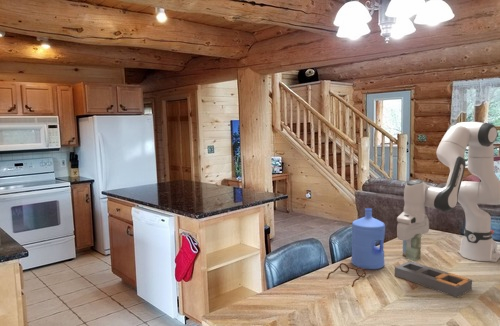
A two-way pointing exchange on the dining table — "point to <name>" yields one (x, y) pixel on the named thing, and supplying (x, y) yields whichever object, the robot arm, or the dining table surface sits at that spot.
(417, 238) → the peg
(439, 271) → the board
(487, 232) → the robot arm
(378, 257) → the water jug
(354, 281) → the glasses
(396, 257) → the dining table surface
